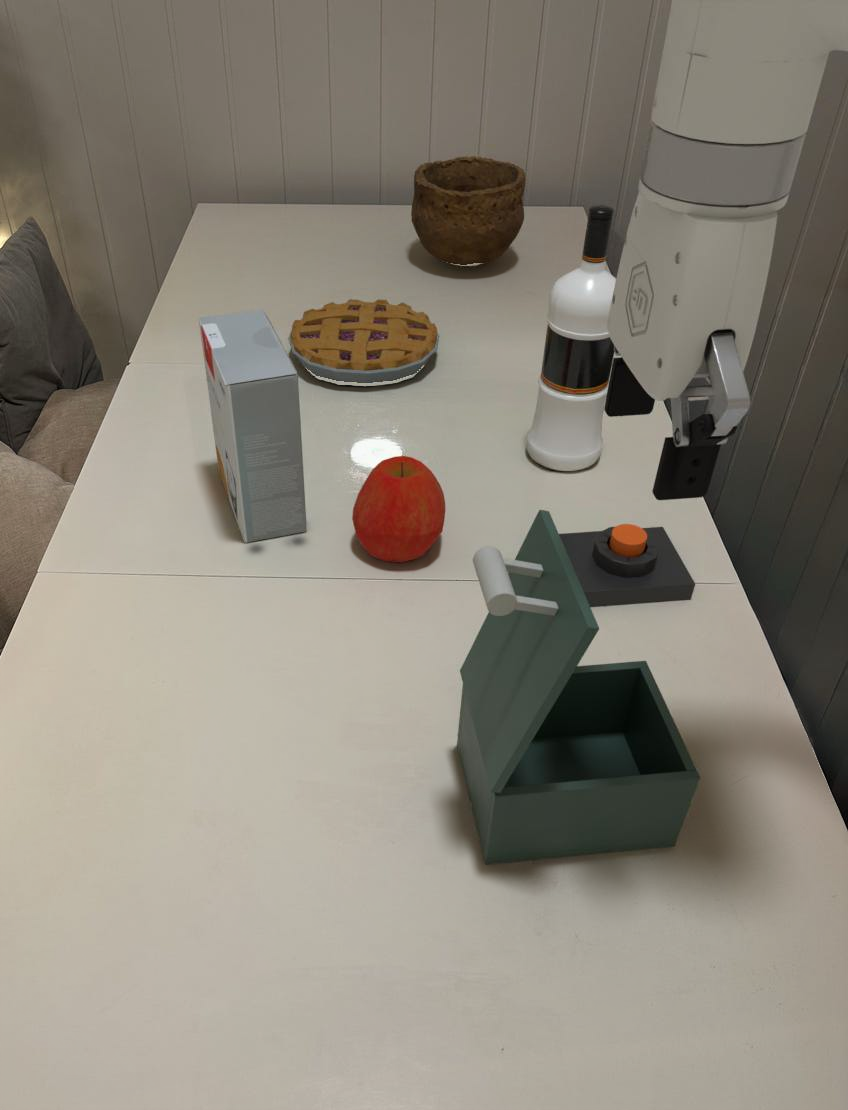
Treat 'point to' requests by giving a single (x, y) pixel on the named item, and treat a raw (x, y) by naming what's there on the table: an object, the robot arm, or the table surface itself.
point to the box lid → (523, 644)
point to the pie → (363, 341)
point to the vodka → (576, 358)
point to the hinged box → (587, 773)
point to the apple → (399, 510)
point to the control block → (628, 569)
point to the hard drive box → (255, 423)
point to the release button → (628, 540)
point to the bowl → (468, 208)
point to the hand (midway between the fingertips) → (651, 452)
